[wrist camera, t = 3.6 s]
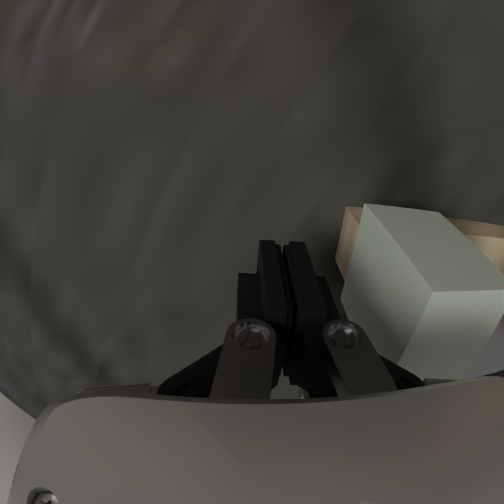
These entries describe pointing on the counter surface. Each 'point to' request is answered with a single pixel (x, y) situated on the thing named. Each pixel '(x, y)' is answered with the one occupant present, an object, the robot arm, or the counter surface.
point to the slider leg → (421, 291)
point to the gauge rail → (480, 234)
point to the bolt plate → (488, 361)
